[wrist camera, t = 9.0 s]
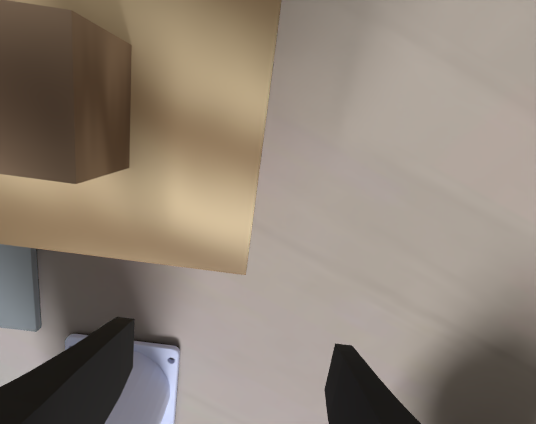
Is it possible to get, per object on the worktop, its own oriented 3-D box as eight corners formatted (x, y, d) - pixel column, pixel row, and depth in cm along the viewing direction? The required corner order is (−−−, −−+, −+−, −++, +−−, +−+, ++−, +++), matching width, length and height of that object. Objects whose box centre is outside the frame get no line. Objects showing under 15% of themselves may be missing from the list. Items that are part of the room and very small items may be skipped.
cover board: (246, 267, 16) (237, 325, 12) (-32, 232, 16) (-157, 277, 11) (288, -53, 12) (299, -159, 8) (-75, -111, 12) (-291, -260, 7)
